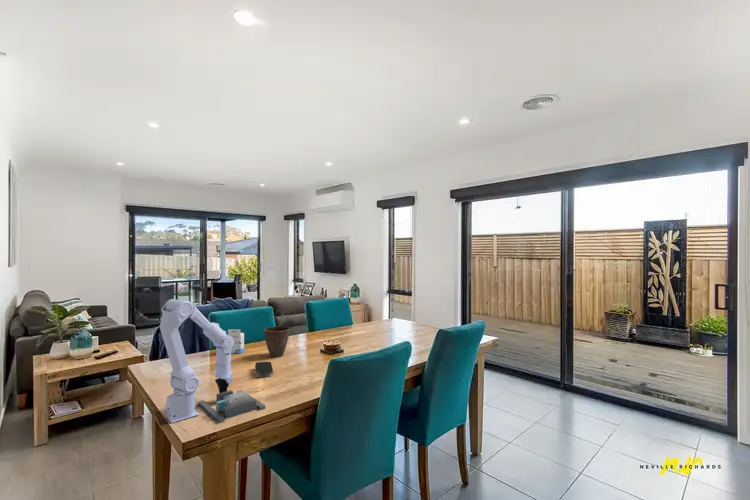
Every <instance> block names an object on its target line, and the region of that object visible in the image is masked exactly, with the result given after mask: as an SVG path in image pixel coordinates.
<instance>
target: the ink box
mask: <svg viewBox="0 0 750 500" xmlns="http://www.w3.org/2000/svg"><path fill="white" fill-rule="evenodd" d="M241 331H242V330H241V329H236V328H235V329H229V328H228V329H227V335H230V336H231V337H232V338H233V341H234V345H233V346H232V351H231V354H234V353H241V354H242V353H244V352H245V332H241Z"/></svg>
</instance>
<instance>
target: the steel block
mask: <svg viewBox="0 0 750 500" xmlns="http://www.w3.org/2000/svg"><path fill="white" fill-rule="evenodd" d="M249 395H250V394H249V393H248V392H247V391H245V390H242V391H241V392H237V391H236V392H233V394H230V395H226V396H224V408H225V407H229V406H232V405H235V404H239V403H242V402H246V401H249Z"/></svg>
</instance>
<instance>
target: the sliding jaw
mask: <svg viewBox="0 0 750 500" xmlns="http://www.w3.org/2000/svg"><path fill="white" fill-rule="evenodd" d="M233 393H234V391H233V390H231V389H230V390H227V391H226V392H222V393H216V397H215V399H216V403H215V404H216V405H215V406H216V407H215V411H217V412H218V413H221V412H222V413H223V411H224V396H226V395H230V394H233Z"/></svg>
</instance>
